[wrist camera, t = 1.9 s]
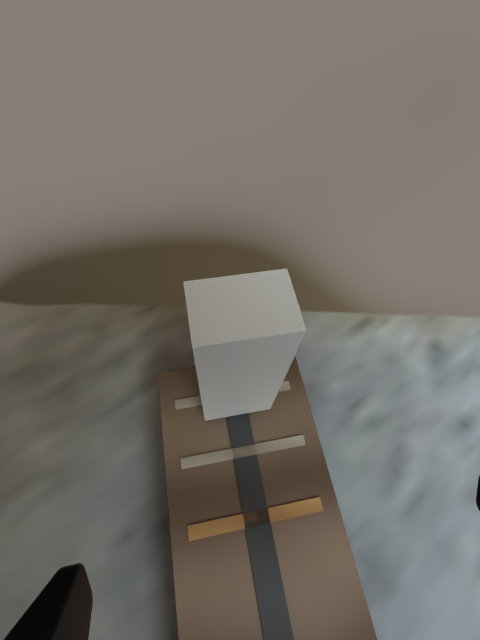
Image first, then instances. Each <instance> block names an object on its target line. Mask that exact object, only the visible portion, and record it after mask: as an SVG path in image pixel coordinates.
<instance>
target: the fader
mask: <svg viewBox="0 0 480 640" xmlns="http://www.w3.org/2000/svg"><path fill="white" fill-rule="evenodd" d="M183 283H184V290H185V297H186V305H187V313H188V320H189V328H190V335H191V342H192V349H193V355H194V361H195V367H196V372H197V378H198V384H199V390H200V396H201V401H202V407H203V413H204V419H205V421H207V420H212V419H218V418H224V417H229V416H235V415H240V414H246V413H251V412H257V411H262V410H268V409H271V406H272V404H273V402H274V400H275V398H276V396H277V393H278V391H279V389H280V387H281V385H282V383H283V381H284V378H285V376H286V374H287V372H288V370H289V368H290V365H291V363H292V361H293V359H294V357H295V355H296V353H297V350H298V348H299V346H300V344H301V342H302V340H303V337H304V335H305V333H306V331H307V330H306V327H305V324H304V320H303V317H302V314H301V311H300V308H299V305H298V302H297V299H296V295H295V292H294V289H293V286H292V283H291V280H290V277H289V273H288V270H287V269H280V270H271V271H264V272H256V273H247V274H240V275H232V276H224V277H216V278H207V279H199V280H192V281H184V282H183Z"/></svg>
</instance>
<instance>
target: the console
mask: <svg viewBox="0 0 480 640" xmlns="http://www.w3.org/2000/svg"><path fill="white" fill-rule="evenodd" d="M158 384H159V396H160V409H161V422H162V434H163V447H164V460H165V473H166V485H167V498H168V511H169V523H170V536H171V549H172V561H173V574H174V587H175V599H176V612H177V625H178V637H179V640H377V638H376V634H375V631H374V627H373V624H372V620H371V617H370V613H369V610H368V606H367V603H366V600H365V596H364V593H363V589H362V586H361V582H360V579H359V575H358V572H357V568H356V565H355V562H354V558H353V555H352V551H351V548H350V544H349V541H348V537H347V534H346V530H345V527H344V523H343V520H342V517H341V513H340V510H339V506H338V503H337V499H336V496H335V492H334V489H333V485H332V482H331V479H330V475H329V472H328V468H327V465H326V461H325V458H324V454H323V451H322V447H321V444H320V441H319V437H318V434H317V430H316V427H315V423H314V420H313V416H312V413H311V409H310V406H309V403H308V399H307V396H306V392H305V389H304V385H303V382H302V378H301V375H300V371H299V368H298V365H297V361H296V358H295V357H294V359H293V361H292V363H291V365H290V368H289V370H288V372H287V374H286V376H285V378H284V381H283V383H282V385H281V387H280V389H279V391H278V393H277V396H276V398H275V400H274V402H273V404H272V406H271V409H268V410H262V411H257V412H251V413H246V414H240V415H235V416H229V417H224V418H218V419H212V420H207V421H205V419H204V413H203V407H202V401H201V396H200V390H199V384H198V378H197V372H196V367H193V368H187V369H180V370H174V371H168V372H161V373H158Z"/></svg>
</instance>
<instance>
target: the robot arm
mask: <svg viewBox="0 0 480 640" xmlns="http://www.w3.org/2000/svg"><path fill="white" fill-rule="evenodd" d="M476 503H477V506H478V509H479V511H480V476H479V479H478V488H477V496H476ZM92 601H93V599H92V591H91V587H90V584H89V580H88V577H87V574H86V570H85V568H84V566H83V564H81V563H78V564H73V565H69V566H65V567H62V568H60V569H59V570H58V571H57V572H56V574H55V575H54V576H53V577H52V579H51V580H50V581H49V582H48V584H47V585H46V586H45V588H44V589H43V590H42V591H41V593H40V594H39V595H38V597H37V598H36V599H35V600H34V602H33V603H32V604H31V606H30V607H29V608H28V609H27V611H26V612H25V613H24V614H23V616H22V617H21V618H20V620H19V621H18V622H17V623H16V625H15V626H14V627H13V629H12V630H11V631H10V632H9V634H8V635H7V636H6V638H5V639H4V640H88V636H89V628H90V620H91V612H92Z"/></svg>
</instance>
